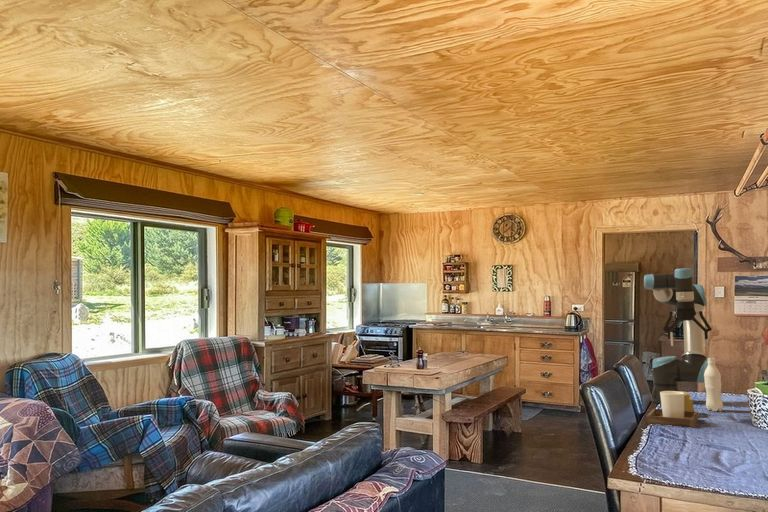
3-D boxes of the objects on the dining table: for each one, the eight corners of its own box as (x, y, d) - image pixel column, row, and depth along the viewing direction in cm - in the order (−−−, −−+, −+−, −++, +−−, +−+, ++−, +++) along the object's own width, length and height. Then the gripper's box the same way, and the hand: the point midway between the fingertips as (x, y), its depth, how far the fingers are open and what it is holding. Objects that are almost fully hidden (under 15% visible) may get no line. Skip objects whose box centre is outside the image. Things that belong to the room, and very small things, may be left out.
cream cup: (689, 422, 253) (687, 394, 254) (665, 422, 255) (663, 394, 256) (681, 417, 263) (680, 390, 264) (658, 417, 265) (656, 390, 265)
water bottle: (702, 410, 283) (699, 358, 284) (712, 408, 286) (709, 356, 287) (716, 412, 276) (713, 359, 278) (726, 411, 279) (723, 358, 281)
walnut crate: (653, 416, 273) (653, 408, 273) (698, 419, 263) (697, 411, 263) (646, 424, 257) (646, 416, 258) (693, 428, 247) (693, 419, 248)
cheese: (695, 416, 270) (693, 394, 270) (671, 417, 270) (670, 395, 271) (684, 412, 280) (682, 391, 281) (661, 412, 280) (660, 391, 281)
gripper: (655, 301, 281) (658, 346, 279) (714, 300, 267) (718, 347, 266) (657, 301, 287) (660, 344, 286) (716, 300, 274) (719, 345, 272)
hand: (688, 346), depth 276 cm, fingers open, 13 cm apart
